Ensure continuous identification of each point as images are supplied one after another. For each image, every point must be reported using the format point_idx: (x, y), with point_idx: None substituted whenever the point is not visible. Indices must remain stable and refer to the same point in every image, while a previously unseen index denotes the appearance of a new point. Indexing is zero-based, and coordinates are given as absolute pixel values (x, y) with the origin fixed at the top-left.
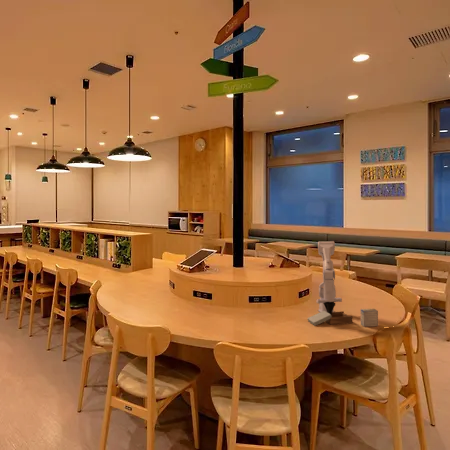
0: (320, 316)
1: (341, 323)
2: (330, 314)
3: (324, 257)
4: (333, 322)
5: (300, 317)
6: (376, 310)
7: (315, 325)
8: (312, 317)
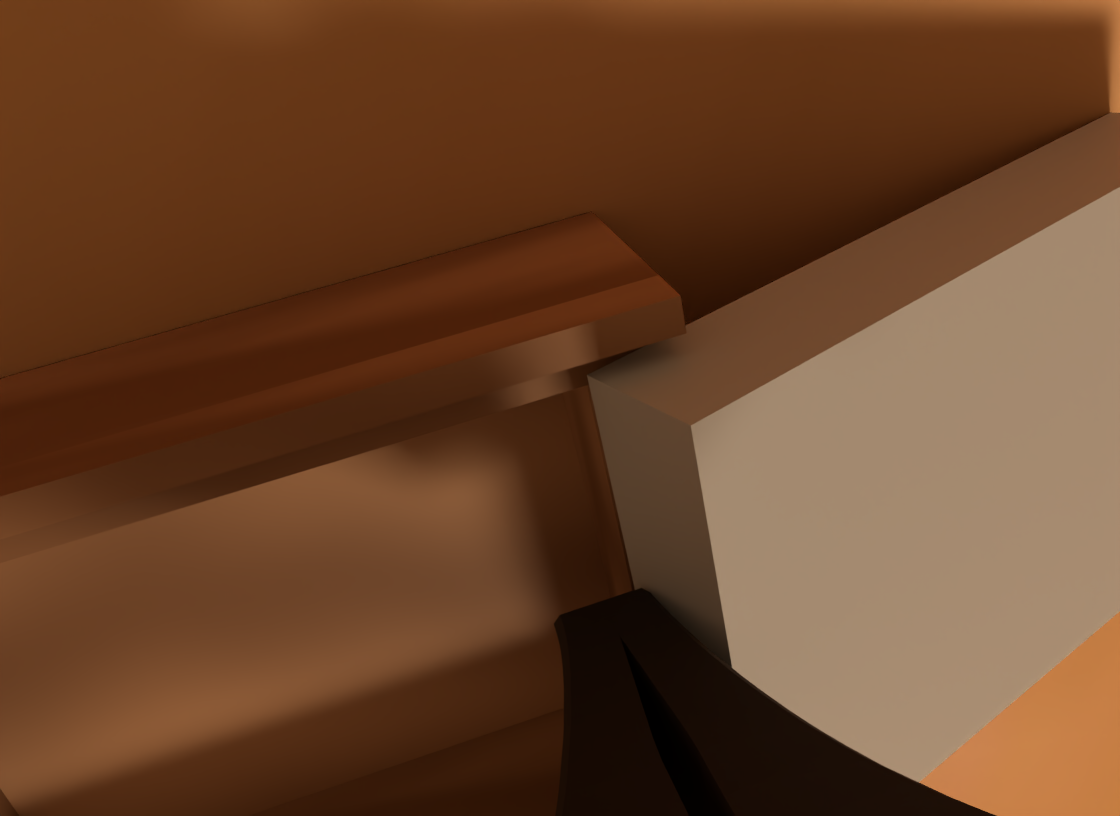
0: (983, 478)
1: (180, 333)
2: (703, 445)
3: None
4: (509, 262)
5: (1110, 777)
6: None
7: (1096, 123)
8: (1117, 536)
